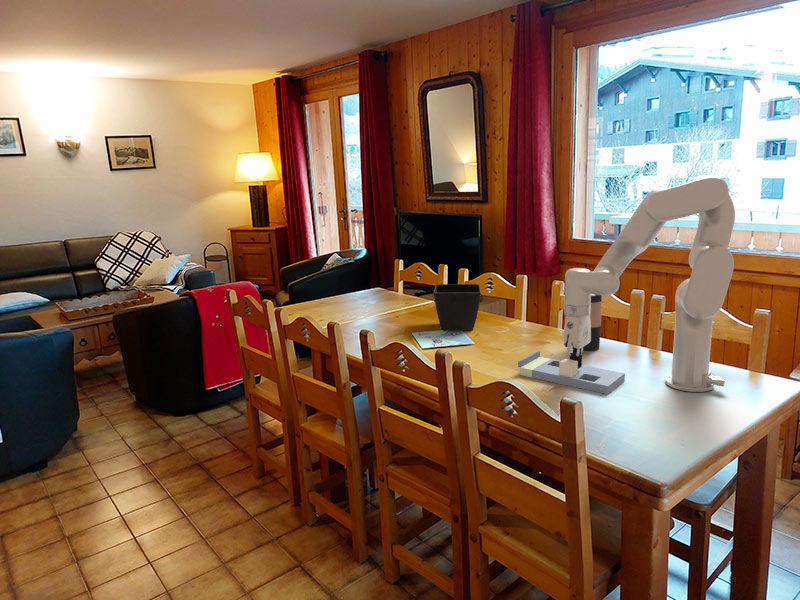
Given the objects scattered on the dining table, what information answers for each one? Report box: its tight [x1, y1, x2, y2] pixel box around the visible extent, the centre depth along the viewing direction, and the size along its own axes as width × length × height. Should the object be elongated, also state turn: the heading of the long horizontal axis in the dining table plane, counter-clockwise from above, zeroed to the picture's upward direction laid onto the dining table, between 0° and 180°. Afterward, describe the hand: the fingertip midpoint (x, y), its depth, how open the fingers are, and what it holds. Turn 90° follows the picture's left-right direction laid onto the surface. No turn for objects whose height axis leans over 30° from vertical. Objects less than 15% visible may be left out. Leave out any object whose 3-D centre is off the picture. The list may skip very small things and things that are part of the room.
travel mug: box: [583, 294, 603, 352], centre depth 202 cm, size 8×8×20 cm
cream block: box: [559, 358, 578, 377], centre depth 171 cm, size 4×4×4 cm
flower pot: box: [433, 283, 482, 331], centre depth 237 cm, size 19×19×17 cm
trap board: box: [517, 350, 626, 395], centre depth 175 cm, size 29×13×4 cm, turn 49°
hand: (575, 367), depth 175 cm, fingers closed
